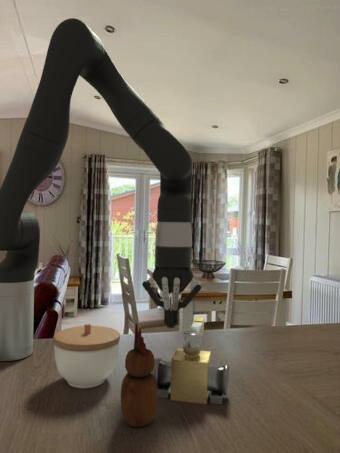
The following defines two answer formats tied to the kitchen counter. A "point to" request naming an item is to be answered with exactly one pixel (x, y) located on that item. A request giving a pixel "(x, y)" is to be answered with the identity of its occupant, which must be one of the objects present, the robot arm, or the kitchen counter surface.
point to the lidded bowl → (86, 354)
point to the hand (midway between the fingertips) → (171, 326)
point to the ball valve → (191, 378)
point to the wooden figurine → (139, 384)
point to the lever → (193, 337)
